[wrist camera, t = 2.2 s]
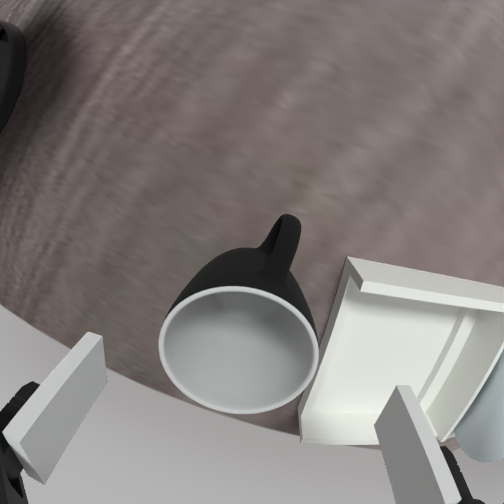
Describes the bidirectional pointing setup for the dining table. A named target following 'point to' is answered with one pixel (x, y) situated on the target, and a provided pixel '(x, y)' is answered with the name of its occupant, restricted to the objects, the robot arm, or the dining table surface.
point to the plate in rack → (485, 420)
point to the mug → (243, 329)
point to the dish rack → (400, 350)
